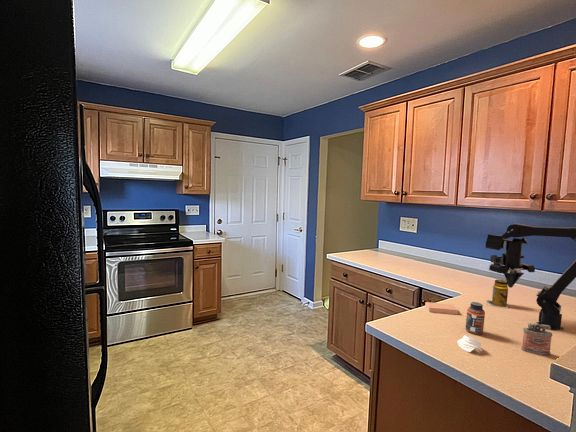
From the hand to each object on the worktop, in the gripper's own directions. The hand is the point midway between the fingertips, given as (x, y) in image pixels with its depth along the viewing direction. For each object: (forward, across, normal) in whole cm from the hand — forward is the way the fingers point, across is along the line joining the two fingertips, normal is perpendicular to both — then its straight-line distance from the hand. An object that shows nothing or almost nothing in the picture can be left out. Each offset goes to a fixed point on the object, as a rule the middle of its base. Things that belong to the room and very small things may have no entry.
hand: (510, 287), depth 139 cm
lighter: (+13, +19, +28) cm, 36 cm away
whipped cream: (+13, +40, +22) cm, 47 cm away
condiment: (+13, -8, -13) cm, 20 cm away
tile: (+12, +20, -8) cm, 25 cm away
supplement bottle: (+13, +28, +11) cm, 33 cm away
